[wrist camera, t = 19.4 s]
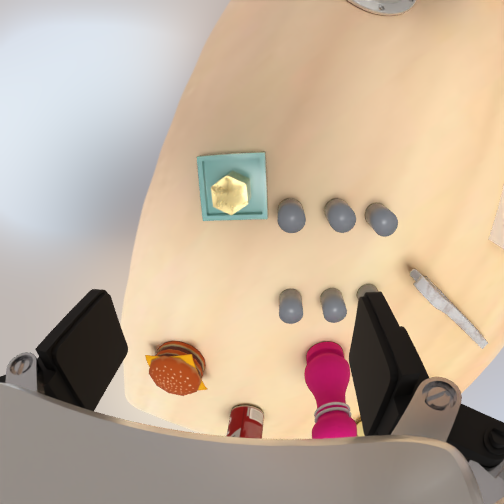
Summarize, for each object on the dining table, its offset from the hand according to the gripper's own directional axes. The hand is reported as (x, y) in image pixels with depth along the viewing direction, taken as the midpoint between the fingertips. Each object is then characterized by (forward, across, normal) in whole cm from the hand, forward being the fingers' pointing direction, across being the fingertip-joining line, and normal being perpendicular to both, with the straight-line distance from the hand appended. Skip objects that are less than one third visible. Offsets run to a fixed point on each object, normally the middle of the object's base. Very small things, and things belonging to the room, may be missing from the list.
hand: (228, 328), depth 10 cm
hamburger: (+29, +16, +30) cm, 44 cm away
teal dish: (+28, +4, 0) cm, 29 cm away
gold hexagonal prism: (+28, +4, 0) cm, 28 cm away
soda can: (+28, +5, +45) cm, 54 cm away
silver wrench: (+29, -31, +20) cm, 47 cm away
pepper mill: (+28, -9, +28) cm, 41 cm away
